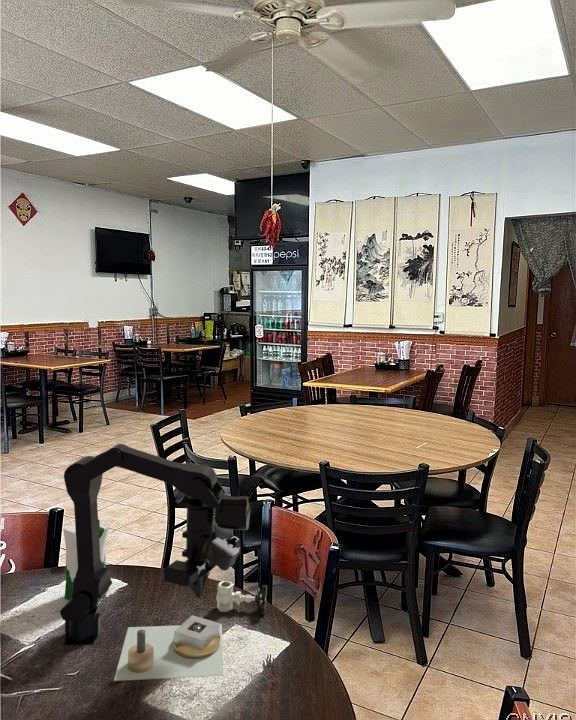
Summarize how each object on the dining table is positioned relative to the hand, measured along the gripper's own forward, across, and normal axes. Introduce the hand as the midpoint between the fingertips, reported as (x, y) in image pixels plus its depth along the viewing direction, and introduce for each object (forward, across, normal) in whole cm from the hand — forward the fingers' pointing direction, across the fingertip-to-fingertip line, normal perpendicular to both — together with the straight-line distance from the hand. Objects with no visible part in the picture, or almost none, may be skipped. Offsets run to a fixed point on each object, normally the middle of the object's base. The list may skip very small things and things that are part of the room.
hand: (198, 597), depth 118 cm
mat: (+11, -4, +4) cm, 12 cm away
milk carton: (+11, +5, +36) cm, 38 cm away
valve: (+12, +17, -2) cm, 20 cm away
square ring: (+9, 0, 0) cm, 9 cm away
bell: (+11, 0, 0) cm, 11 cm away
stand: (+11, -11, +7) cm, 17 cm away
